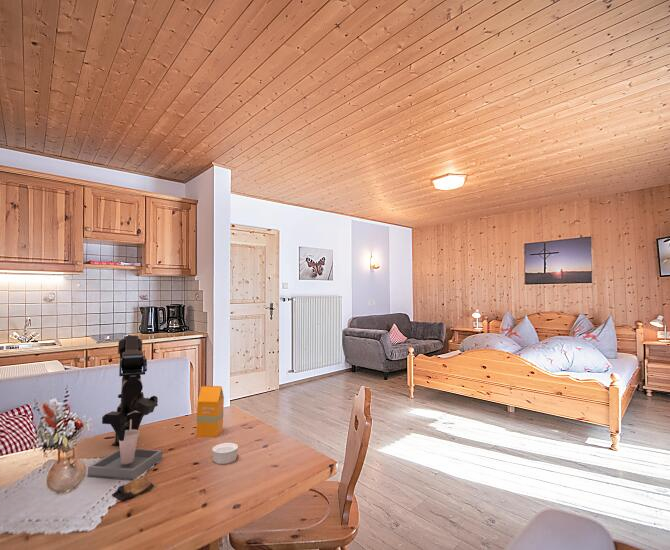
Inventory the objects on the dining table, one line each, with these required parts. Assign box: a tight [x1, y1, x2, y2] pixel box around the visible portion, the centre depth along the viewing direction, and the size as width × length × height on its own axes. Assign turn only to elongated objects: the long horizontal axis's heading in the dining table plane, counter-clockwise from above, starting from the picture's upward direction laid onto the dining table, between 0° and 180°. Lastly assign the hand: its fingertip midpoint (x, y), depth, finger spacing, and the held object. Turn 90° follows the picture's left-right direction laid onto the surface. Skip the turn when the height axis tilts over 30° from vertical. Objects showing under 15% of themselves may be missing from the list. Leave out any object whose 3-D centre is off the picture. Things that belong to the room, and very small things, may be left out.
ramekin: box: [211, 442, 239, 465], centre depth 131 cm, size 9×9×4 cm
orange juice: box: [195, 385, 225, 438], centre depth 156 cm, size 8×9×20 cm
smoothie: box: [119, 419, 140, 464], centre depth 124 cm, size 6×6×14 cm
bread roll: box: [111, 477, 158, 502], centre depth 108 cm, size 11×8×4 cm
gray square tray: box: [87, 448, 163, 481], centre depth 123 cm, size 16×16×3 cm
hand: (128, 437), depth 124 cm, fingers closed on smoothie, 6 cm apart
